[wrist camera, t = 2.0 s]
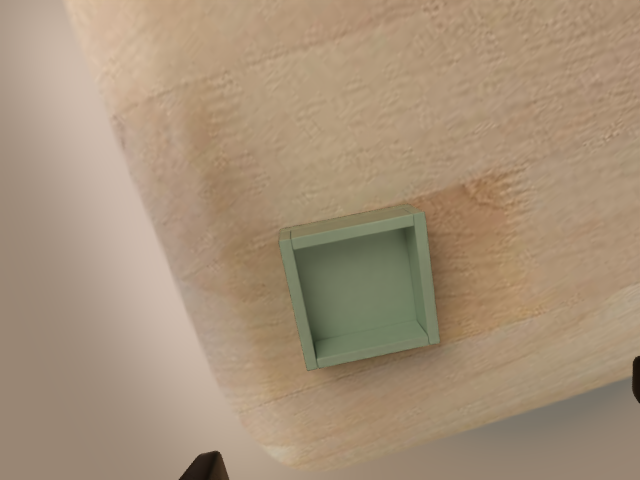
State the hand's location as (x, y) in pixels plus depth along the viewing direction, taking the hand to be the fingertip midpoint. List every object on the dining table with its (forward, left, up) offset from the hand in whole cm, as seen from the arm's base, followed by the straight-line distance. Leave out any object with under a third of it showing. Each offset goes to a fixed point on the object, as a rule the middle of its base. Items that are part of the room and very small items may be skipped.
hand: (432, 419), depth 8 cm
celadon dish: (0, -1, -10) cm, 10 cm away
